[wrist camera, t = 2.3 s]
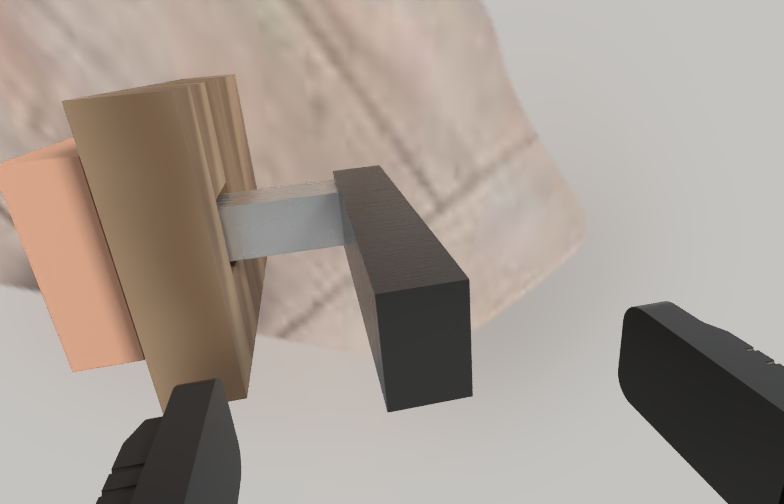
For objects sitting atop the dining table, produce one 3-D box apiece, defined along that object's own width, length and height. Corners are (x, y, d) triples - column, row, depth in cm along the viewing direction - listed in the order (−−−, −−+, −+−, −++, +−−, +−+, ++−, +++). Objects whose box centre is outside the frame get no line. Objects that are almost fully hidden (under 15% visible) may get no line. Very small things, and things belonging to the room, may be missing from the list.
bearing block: (222, 254, 33) (163, 413, 18) (181, 79, 29) (61, 101, 14) (268, 247, 33) (246, 398, 18) (234, 74, 29) (172, 90, 14)
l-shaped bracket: (68, 275, 21) (-193, 524, 10) (43, 206, 20) (-287, 399, 8) (385, 230, 23) (472, 395, 11) (378, 164, 21) (469, 278, 10)
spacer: (134, 284, 25) (72, 371, 18) (87, 132, 22) (-9, 166, 15) (185, 277, 25) (144, 359, 18) (145, 126, 22) (78, 156, 16)
